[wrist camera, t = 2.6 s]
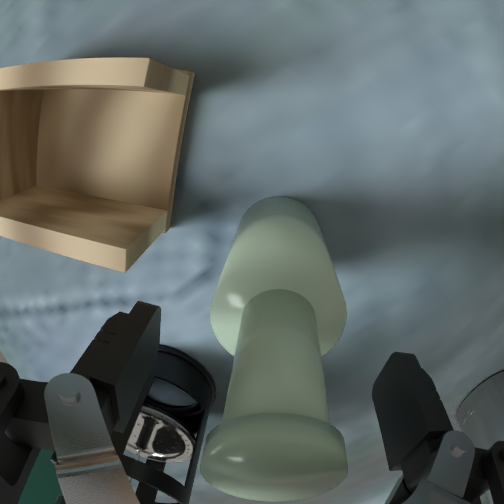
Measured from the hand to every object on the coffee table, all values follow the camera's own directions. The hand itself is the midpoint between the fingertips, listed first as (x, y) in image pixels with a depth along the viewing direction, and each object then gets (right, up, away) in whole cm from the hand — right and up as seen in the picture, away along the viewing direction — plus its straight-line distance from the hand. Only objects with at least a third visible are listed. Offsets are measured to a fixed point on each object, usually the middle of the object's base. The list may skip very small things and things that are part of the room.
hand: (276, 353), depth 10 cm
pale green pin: (+1, +4, +10) cm, 11 cm away
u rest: (-11, +11, +8) cm, 17 cm away
